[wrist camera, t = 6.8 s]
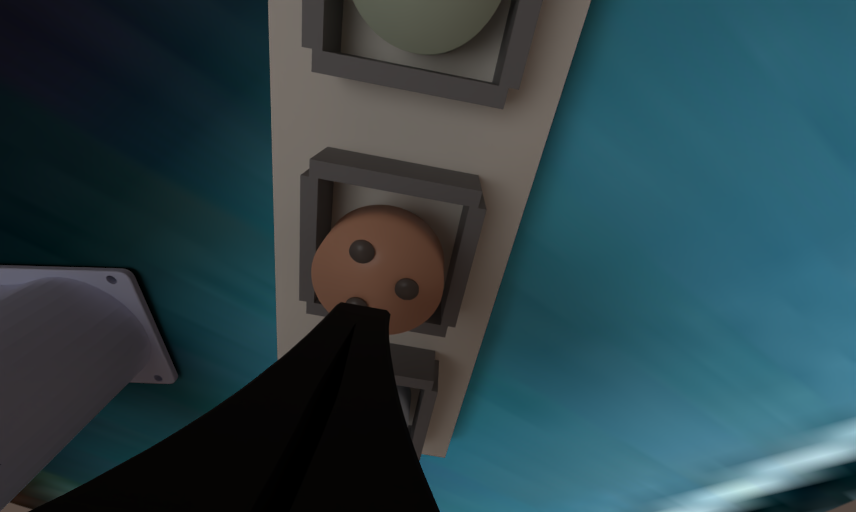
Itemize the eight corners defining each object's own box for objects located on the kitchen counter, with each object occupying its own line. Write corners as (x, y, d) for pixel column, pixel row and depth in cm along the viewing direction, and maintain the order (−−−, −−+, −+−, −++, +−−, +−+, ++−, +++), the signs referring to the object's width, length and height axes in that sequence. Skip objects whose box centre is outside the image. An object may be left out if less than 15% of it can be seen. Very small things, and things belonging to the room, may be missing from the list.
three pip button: (432, 318, 15) (430, 346, 13) (322, 299, 14) (308, 325, 13) (455, 217, 13) (456, 237, 11) (327, 193, 12) (311, 210, 11)
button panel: (445, 428, 24) (444, 492, 20) (292, 403, 24) (264, 463, 20) (630, -187, 11) (718, -307, 7) (291, -265, 10) (210, -430, 7)
